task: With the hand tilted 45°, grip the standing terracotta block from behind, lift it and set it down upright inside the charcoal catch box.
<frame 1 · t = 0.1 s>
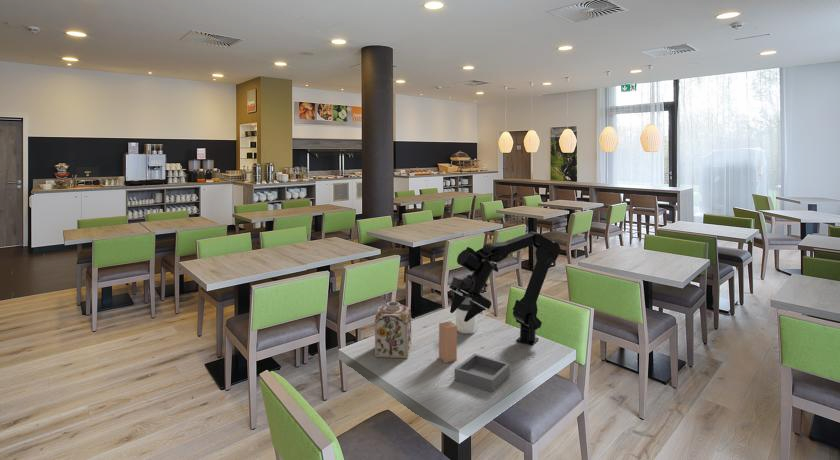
hand: (457, 317, 159), 15 cm above the table, tool tilted 35°, fingers open, 9 cm apart
catch box: (482, 377, 147), on the table
terracotta block: (447, 358, 160), on the table
jar: (466, 330, 185), on the table
decorative jar: (393, 351, 166), on the table
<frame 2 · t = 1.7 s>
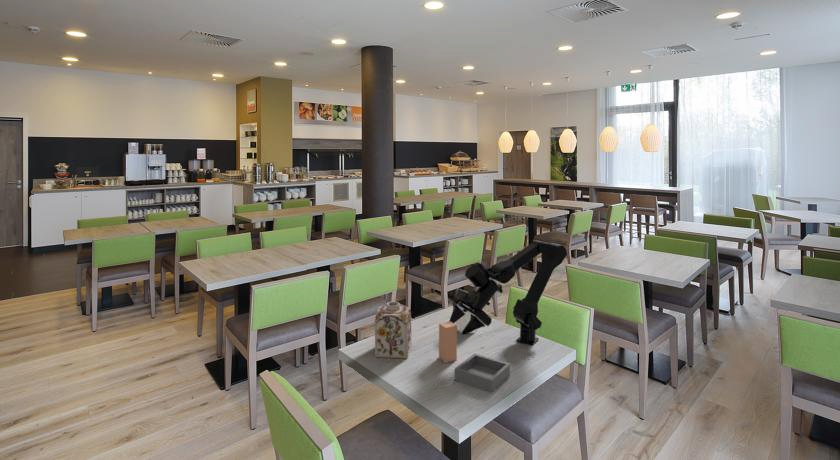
hand: (455, 329, 160), 10 cm above the table, tool tilted 45°, fingers open, 9 cm apart
nothing on the table moved.
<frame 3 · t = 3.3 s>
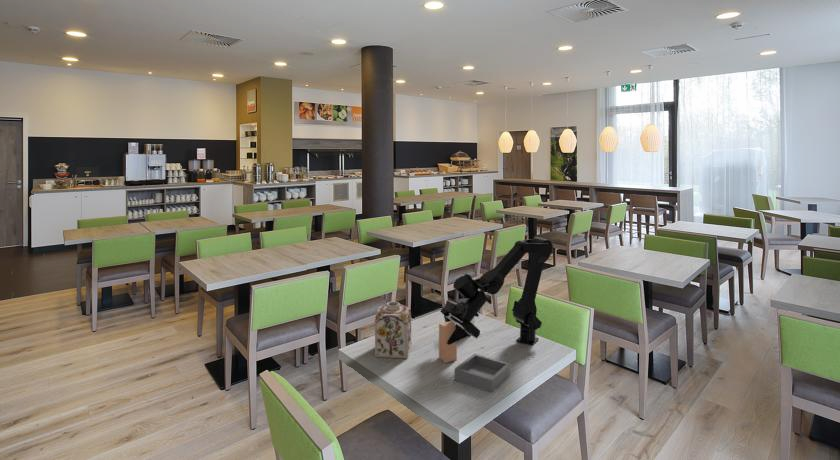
hand: (444, 341, 158), 7 cm above the table, tool tilted 45°, fingers closed on terracotta block, 4 cm apart
terracotta block: (447, 358, 160), on the table, touching gripper
everything else where it was.
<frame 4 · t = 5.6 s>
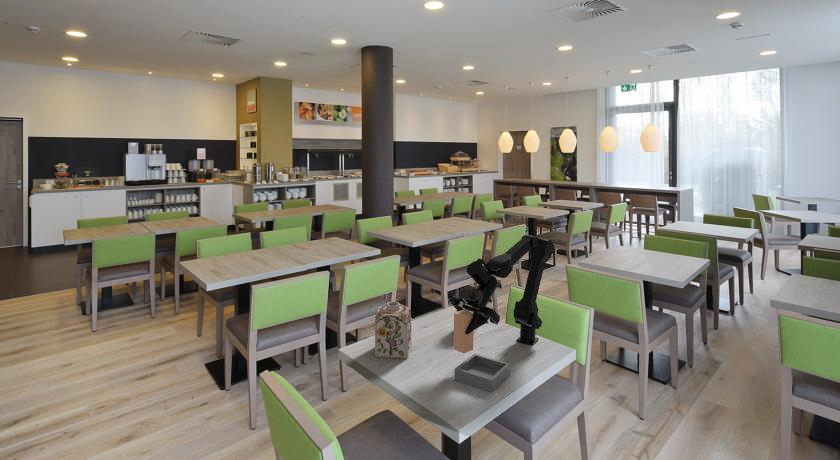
hand: (460, 331, 149), 13 cm above the table, tool tilted 45°, fingers closed on terracotta block, 4 cm apart
terracotta block: (463, 349, 151), point 7 cm above the table, touching gripper
everything else where it was.
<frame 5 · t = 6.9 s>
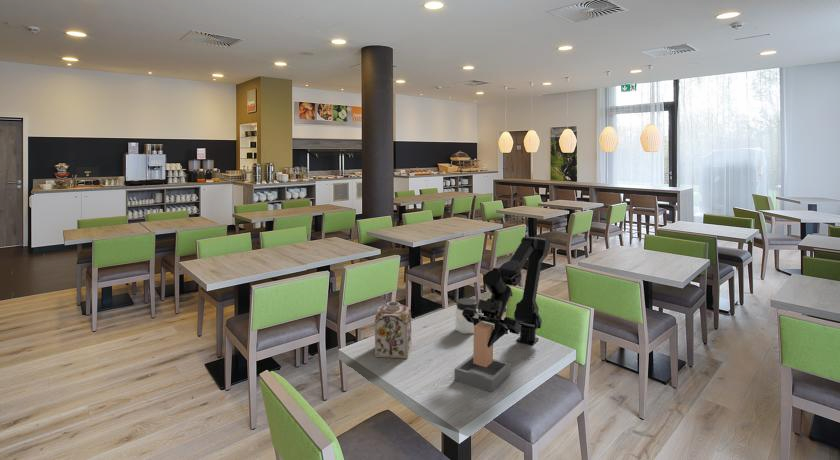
hand: (481, 344, 144), 12 cm above the table, tool tilted 45°, fingers closed on terracotta block, 4 cm apart
terracotta block: (483, 362, 146), point 5 cm above the table, touching gripper
everything else where it was.
when the fingers open (9 cm above the table, at t = 7.8 s): terracotta block drops 1 cm, resting on catch box.
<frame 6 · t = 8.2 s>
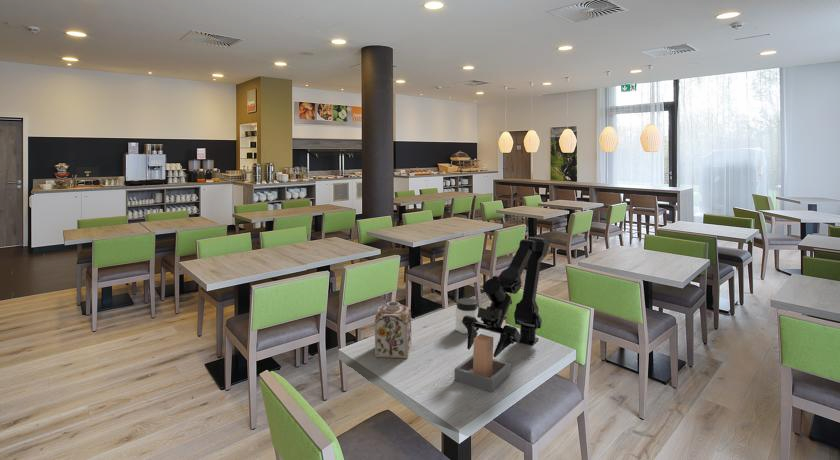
hand: (481, 352, 144), 9 cm above the table, tool tilted 45°, fingers open, 9 cm apart
terracotta block: (482, 375, 147), point 1 cm above the table, touching catch box
everything else where it was.
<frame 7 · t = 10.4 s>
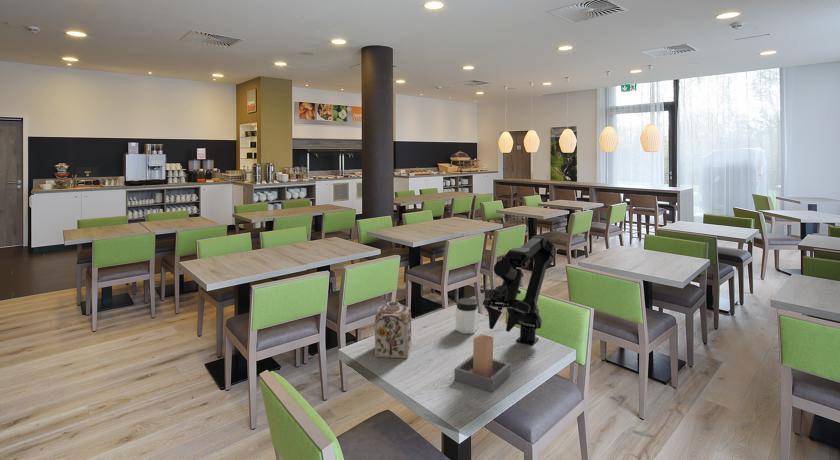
hand: (498, 330, 153), 13 cm above the table, tool tilted 30°, fingers open, 9 cm apart
nothing on the table moved.
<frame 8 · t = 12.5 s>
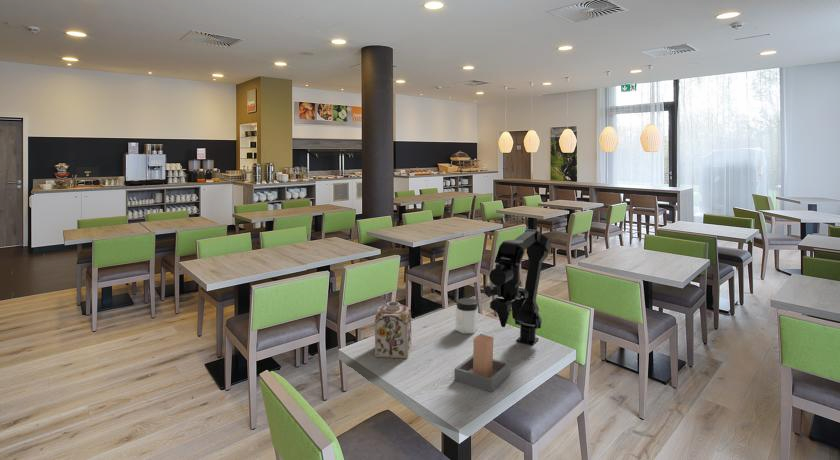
hand: (508, 322, 158), 13 cm above the table, tool pointing down, fingers open, 9 cm apart
nothing on the table moved.
at the end: terracotta block inside the target area on the catch box (0.0 cm from its centre), point 0.8 cm above the catch box's base; terracotta block tilted 0°; the gripper is holding nothing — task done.
